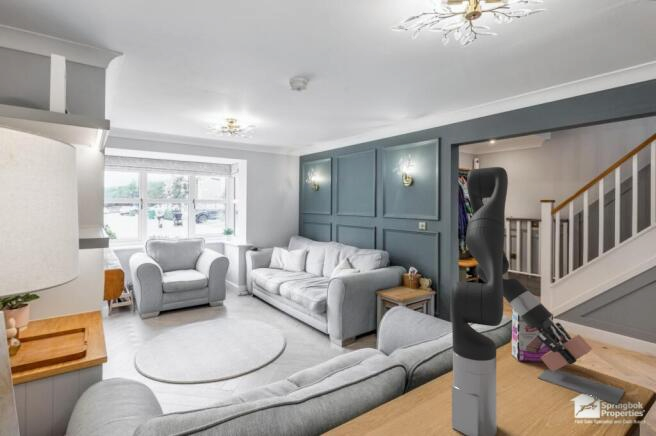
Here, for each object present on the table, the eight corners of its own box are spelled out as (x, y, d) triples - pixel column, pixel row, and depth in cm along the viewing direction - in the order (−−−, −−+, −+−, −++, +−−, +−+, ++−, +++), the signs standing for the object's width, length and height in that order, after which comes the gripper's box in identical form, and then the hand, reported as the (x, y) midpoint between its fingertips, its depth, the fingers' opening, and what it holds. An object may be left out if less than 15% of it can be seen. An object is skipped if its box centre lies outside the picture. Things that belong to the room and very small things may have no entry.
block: (552, 372, 97) (587, 352, 91) (540, 357, 100) (574, 338, 93) (557, 367, 100) (592, 348, 94) (545, 353, 103) (578, 334, 96)
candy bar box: (518, 362, 109) (517, 312, 109) (511, 355, 114) (511, 308, 114) (554, 363, 108) (553, 313, 108) (545, 356, 113) (545, 308, 113)
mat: (616, 404, 84) (616, 403, 84) (537, 378, 98) (537, 377, 98) (625, 391, 90) (625, 390, 90) (549, 368, 104) (549, 367, 104)
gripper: (530, 306, 97) (580, 361, 88) (547, 298, 106) (594, 347, 97) (511, 320, 101) (557, 373, 92) (529, 311, 110) (573, 359, 101)
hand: (576, 359), depth 95 cm, fingers closed on block, 4 cm apart
